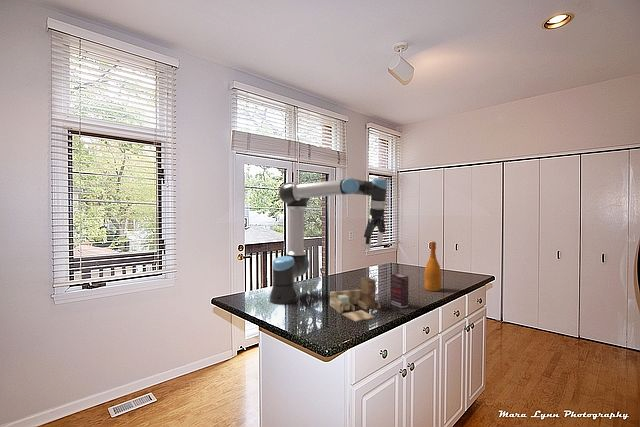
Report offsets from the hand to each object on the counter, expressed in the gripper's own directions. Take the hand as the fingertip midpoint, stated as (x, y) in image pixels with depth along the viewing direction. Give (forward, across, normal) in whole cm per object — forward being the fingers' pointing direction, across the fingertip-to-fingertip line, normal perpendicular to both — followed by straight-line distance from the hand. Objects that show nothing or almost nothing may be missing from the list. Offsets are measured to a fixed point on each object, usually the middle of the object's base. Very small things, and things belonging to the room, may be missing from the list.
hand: (373, 246), depth 182 cm
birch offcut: (+28, -23, +3) cm, 36 cm away
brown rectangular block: (+28, -11, -6) cm, 31 cm away
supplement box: (+28, -1, -18) cm, 33 cm away
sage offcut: (+25, -22, +3) cm, 34 cm away
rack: (+28, -16, -2) cm, 33 cm away
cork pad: (+25, -29, -10) cm, 39 cm away
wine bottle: (+33, +43, -22) cm, 58 cm away
